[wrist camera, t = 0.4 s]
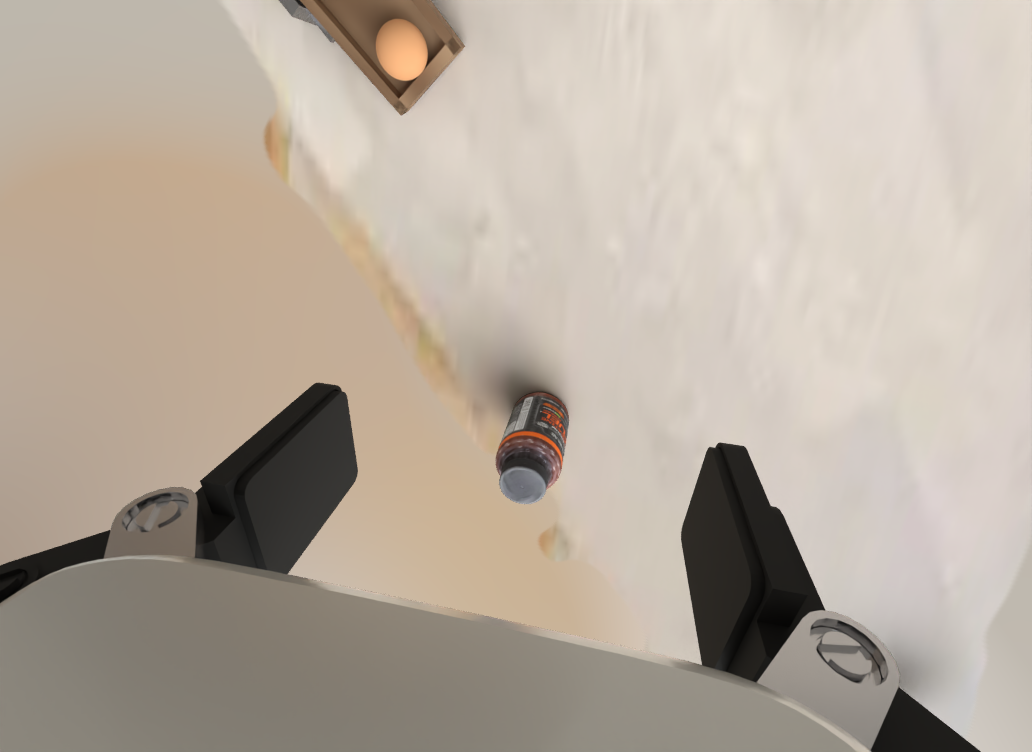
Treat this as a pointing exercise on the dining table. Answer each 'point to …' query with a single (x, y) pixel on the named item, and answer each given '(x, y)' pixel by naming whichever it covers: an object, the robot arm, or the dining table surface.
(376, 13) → the lever
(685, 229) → the dining table surface
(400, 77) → the ball
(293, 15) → the fulcrum
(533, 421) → the supplement bottle
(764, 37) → the dining table surface
